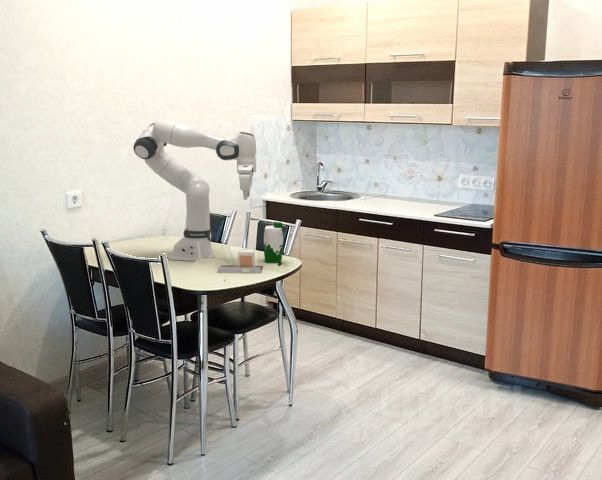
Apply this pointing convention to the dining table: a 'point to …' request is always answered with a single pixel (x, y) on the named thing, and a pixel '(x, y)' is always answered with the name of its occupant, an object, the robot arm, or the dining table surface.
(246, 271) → the rail
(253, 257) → the carton
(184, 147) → the robot arm
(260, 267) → the shelf board
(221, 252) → the dining table surface
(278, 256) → the milk carton
